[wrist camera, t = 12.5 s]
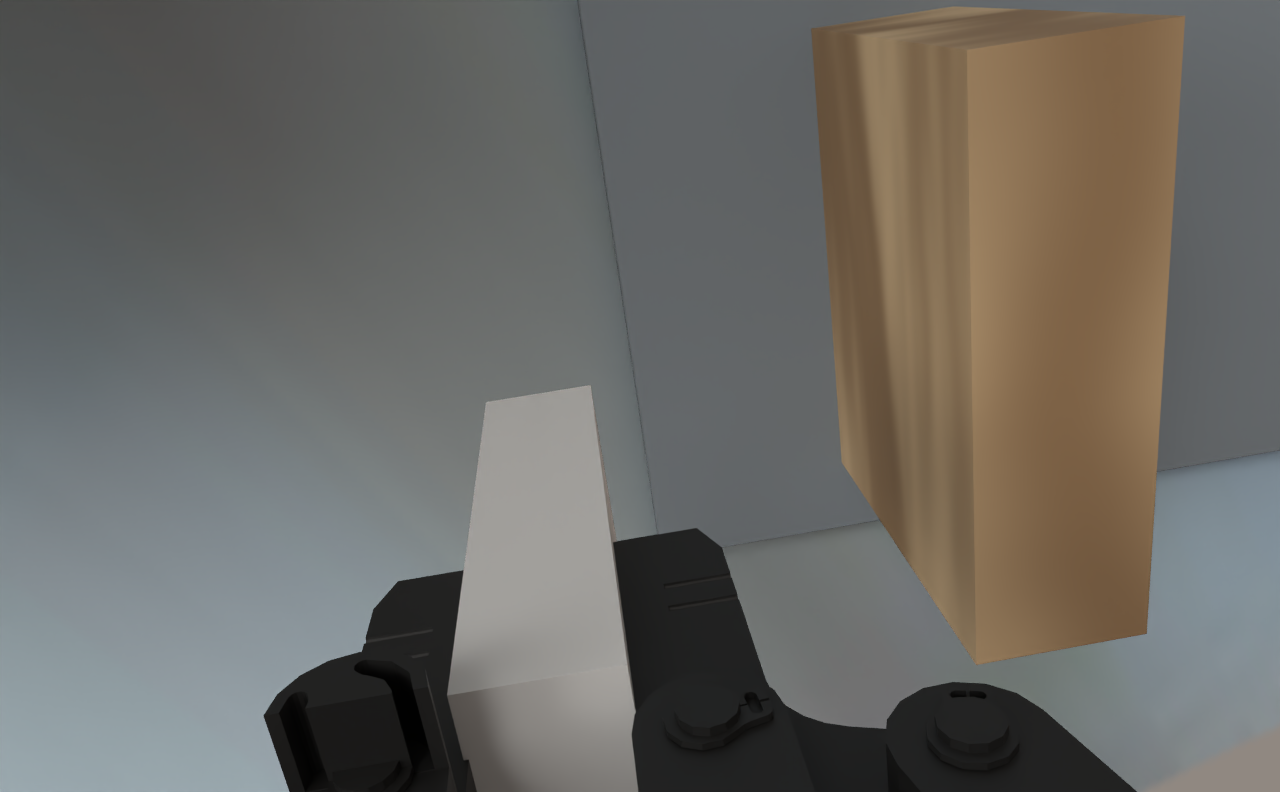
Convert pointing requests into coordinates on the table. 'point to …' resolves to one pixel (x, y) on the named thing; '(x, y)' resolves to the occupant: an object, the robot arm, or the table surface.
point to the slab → (1004, 304)
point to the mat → (797, 253)
